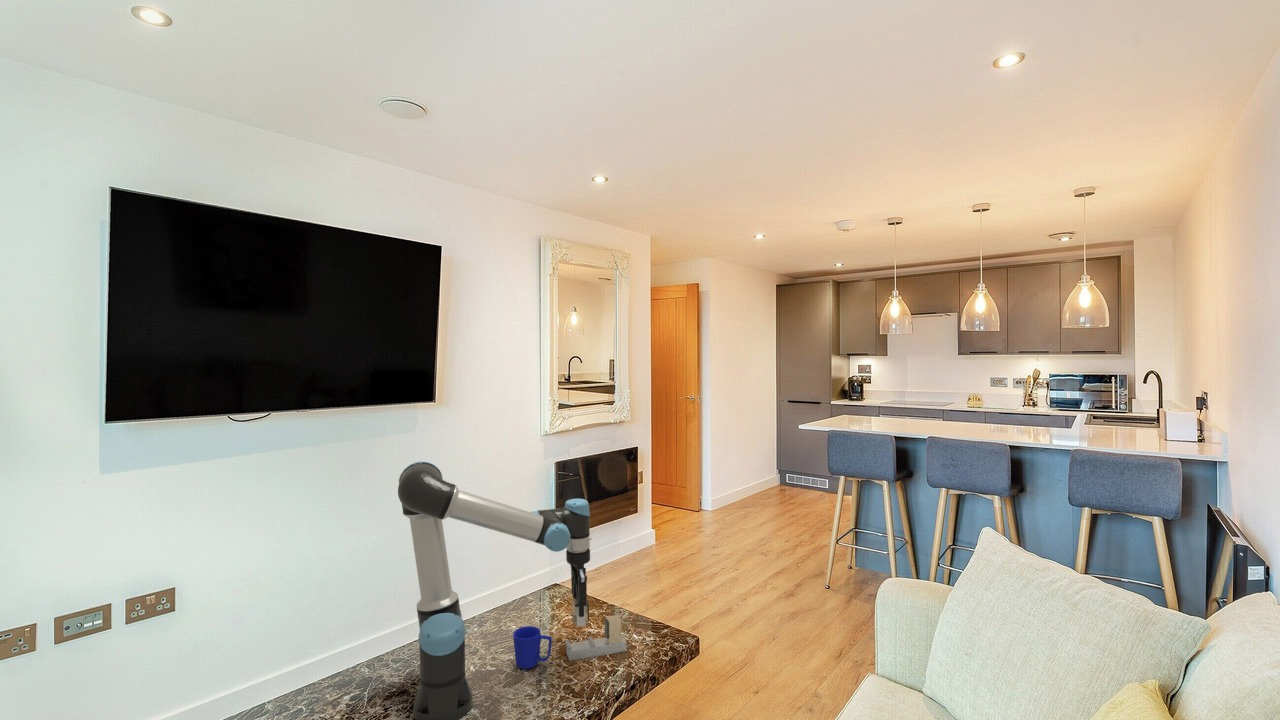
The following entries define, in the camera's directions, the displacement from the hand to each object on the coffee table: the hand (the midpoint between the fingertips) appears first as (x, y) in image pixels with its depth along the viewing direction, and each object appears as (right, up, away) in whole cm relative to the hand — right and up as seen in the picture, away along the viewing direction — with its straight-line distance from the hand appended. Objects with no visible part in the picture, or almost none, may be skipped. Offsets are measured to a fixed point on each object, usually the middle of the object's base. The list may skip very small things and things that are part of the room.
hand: (579, 622), depth 185 cm
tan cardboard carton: (0, 0, 0) cm, 0 cm away
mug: (-14, -11, -5) cm, 18 cm away
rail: (+5, -10, +2) cm, 12 cm away
